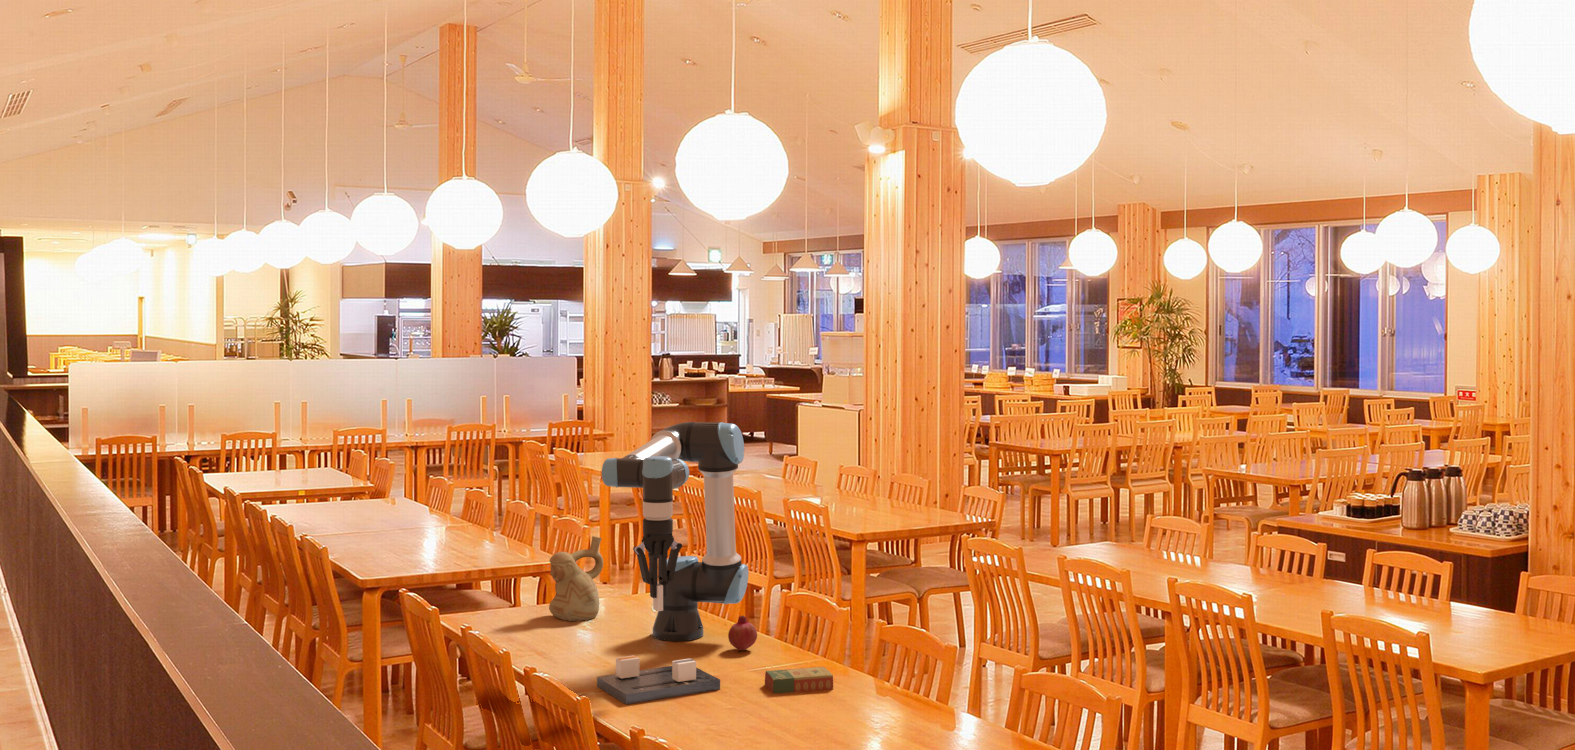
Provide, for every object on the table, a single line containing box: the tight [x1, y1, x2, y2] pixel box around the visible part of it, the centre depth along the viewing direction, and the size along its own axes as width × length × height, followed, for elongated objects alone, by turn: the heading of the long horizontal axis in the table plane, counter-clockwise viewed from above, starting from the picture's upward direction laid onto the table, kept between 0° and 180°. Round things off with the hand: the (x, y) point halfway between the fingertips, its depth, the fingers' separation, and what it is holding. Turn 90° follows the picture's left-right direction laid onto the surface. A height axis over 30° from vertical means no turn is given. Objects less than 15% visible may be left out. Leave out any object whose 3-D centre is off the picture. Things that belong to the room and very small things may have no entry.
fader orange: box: [615, 655, 640, 679], centre depth 325 cm, size 5×4×5 cm
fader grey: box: [671, 658, 697, 682], centre depth 322 cm, size 5×4×5 cm
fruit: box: [727, 615, 758, 652], centre depth 362 cm, size 8×8×10 cm
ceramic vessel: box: [548, 535, 604, 622], centre depth 402 cm, size 17×20×25 cm
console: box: [596, 665, 721, 705], centre depth 324 cm, size 26×18×3 cm
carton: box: [764, 666, 834, 694], centre depth 326 cm, size 8×16×4 cm, turn 105°
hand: (658, 609), depth 323 cm, fingers closed
